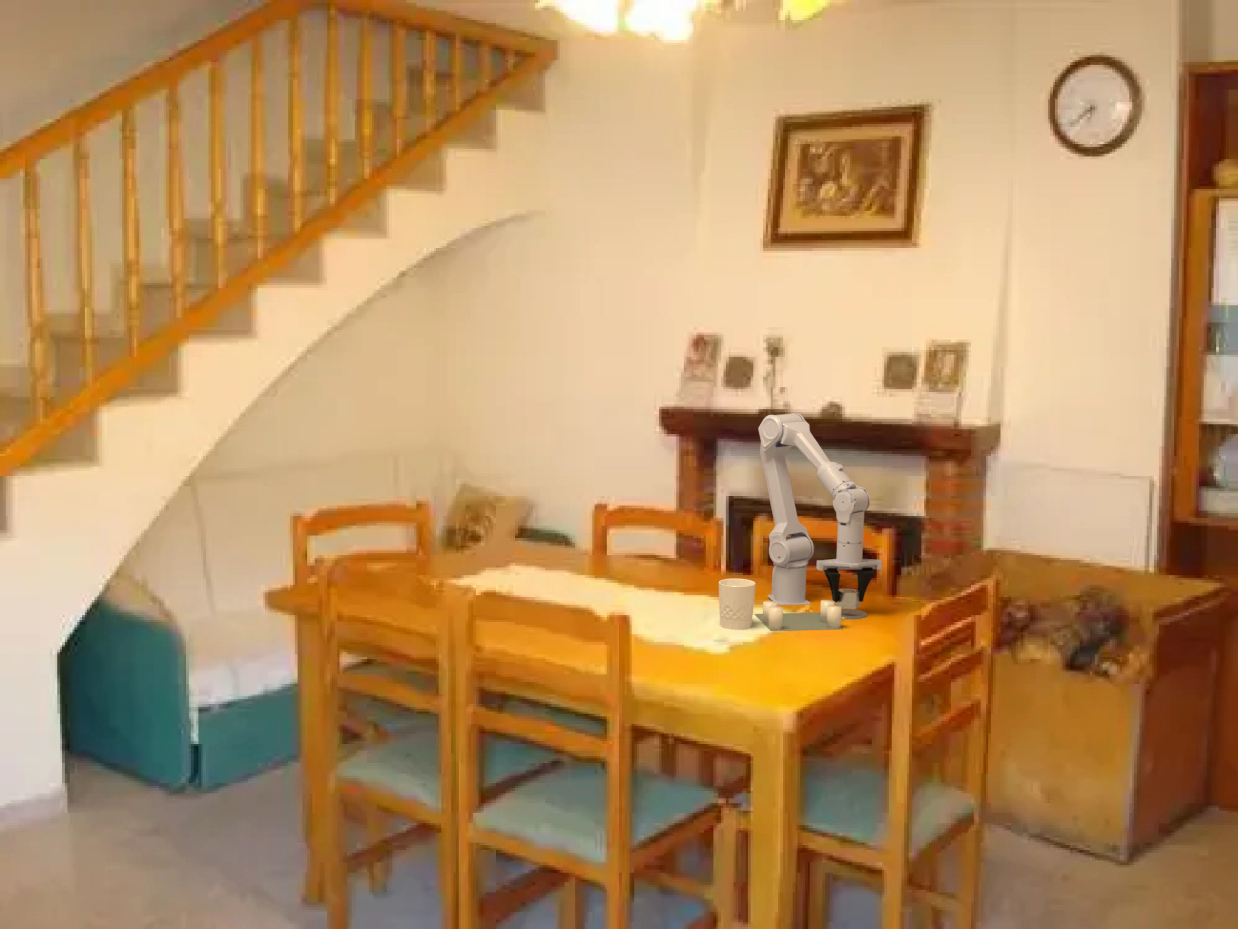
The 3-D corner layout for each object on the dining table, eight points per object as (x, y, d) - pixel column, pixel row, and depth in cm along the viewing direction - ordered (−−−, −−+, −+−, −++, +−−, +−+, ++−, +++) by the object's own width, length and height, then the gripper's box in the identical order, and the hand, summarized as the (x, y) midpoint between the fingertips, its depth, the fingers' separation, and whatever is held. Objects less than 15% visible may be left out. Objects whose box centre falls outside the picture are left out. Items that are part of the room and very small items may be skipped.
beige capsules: (761, 621, 310) (761, 601, 309) (831, 619, 312) (832, 599, 312) (770, 630, 302) (770, 609, 301) (842, 628, 304) (843, 608, 304)
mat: (753, 615, 316) (754, 613, 316) (822, 614, 319) (823, 612, 319) (770, 632, 302) (770, 630, 302) (843, 631, 304) (843, 629, 304)
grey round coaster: (821, 611, 321) (822, 609, 321) (860, 610, 323) (860, 608, 322) (833, 621, 312) (833, 618, 312) (872, 620, 314) (872, 617, 314)
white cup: (724, 633, 301) (726, 587, 299) (712, 624, 308) (713, 579, 307) (759, 631, 303) (760, 585, 301) (746, 622, 310) (747, 577, 309)
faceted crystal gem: (837, 608, 314) (838, 592, 314) (834, 603, 319) (835, 588, 318) (861, 609, 314) (862, 593, 314) (857, 604, 319) (858, 589, 318)
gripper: (823, 545, 310) (821, 605, 312) (887, 544, 312) (884, 604, 314) (814, 539, 317) (812, 598, 319) (876, 538, 319) (874, 597, 321)
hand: (847, 601), depth 317 cm, fingers closed on faceted crystal gem, 5 cm apart
